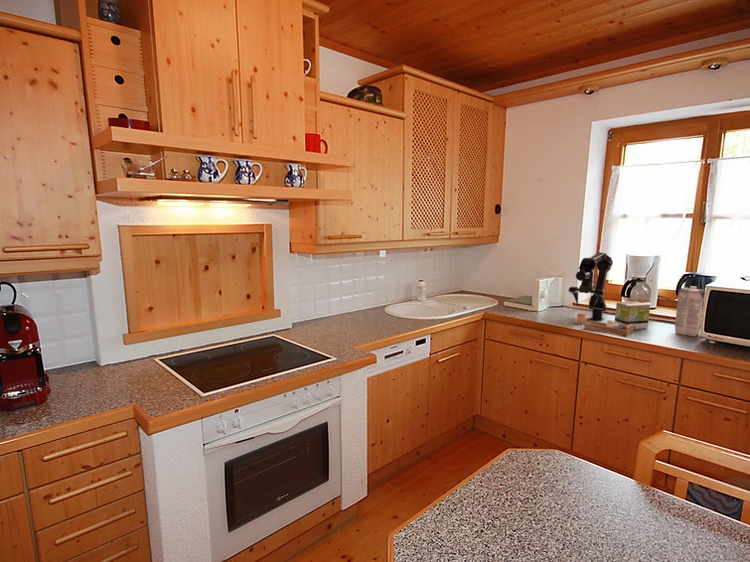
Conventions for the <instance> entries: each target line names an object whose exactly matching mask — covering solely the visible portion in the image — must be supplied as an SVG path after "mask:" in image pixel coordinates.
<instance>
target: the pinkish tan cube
mask: <svg viewBox="0 0 750 562" xmlns="http://www.w3.org/2000/svg"><path fill="white" fill-rule="evenodd" d="M587 318H588V315H587V314H586V313H584V312H583V313H582V312H579V313H577V314H576V322H577V323H580V324H585V323H587ZM577 323H576V324H577ZM580 324H579V325H580Z"/></svg>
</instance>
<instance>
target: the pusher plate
mask: <svg viewBox="0 0 750 562" xmlns="http://www.w3.org/2000/svg"><path fill="white" fill-rule="evenodd" d="M616 329H622V330H623V327H621V323H619V324H618V325H616Z"/></svg>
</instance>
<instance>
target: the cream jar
mask: <svg viewBox="0 0 750 562" xmlns="http://www.w3.org/2000/svg"><path fill="white" fill-rule="evenodd" d="M605 323H606V327H610V328H616V325H617V322H616V321H615V320H613V319H612V320H610V319H608V320H607V321H606V322H605Z"/></svg>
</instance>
